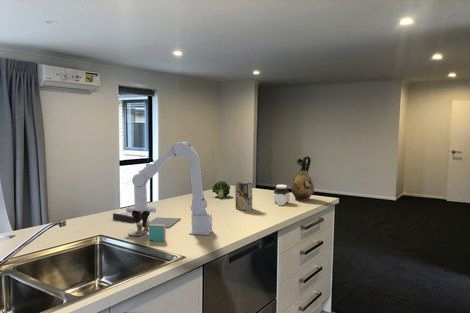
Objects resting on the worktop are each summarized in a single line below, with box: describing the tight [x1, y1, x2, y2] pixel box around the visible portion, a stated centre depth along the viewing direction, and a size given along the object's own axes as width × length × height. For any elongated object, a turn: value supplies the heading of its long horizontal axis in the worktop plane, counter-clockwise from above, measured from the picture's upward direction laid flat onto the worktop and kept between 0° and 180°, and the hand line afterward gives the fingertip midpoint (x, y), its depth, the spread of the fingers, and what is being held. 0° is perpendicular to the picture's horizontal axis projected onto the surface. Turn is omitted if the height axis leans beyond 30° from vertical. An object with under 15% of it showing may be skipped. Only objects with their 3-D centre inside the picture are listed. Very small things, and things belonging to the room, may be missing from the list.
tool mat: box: [148, 216, 182, 229], centre depth 191 cm, size 14×18×1 cm
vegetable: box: [211, 180, 231, 199], centre depth 264 cm, size 12×13×15 cm
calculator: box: [112, 209, 143, 223], centre depth 201 cm, size 11×4×15 cm
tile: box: [148, 224, 167, 242], centre depth 161 cm, size 7×2×7 cm, turn 80°
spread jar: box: [273, 184, 291, 206], centre depth 238 cm, size 12×11×12 cm
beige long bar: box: [127, 218, 150, 237], centre depth 174 cm, size 14×6×4 cm, turn 170°
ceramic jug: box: [290, 155, 315, 202], centre depth 251 cm, size 17×15×30 cm
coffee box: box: [234, 181, 253, 211], centre depth 224 cm, size 9×6×16 cm
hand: (141, 226), depth 175 cm, fingers closed on beige long bar, 2 cm apart
